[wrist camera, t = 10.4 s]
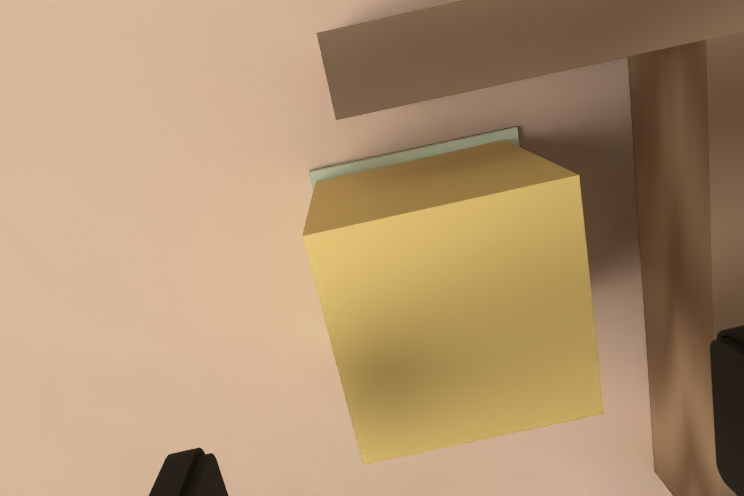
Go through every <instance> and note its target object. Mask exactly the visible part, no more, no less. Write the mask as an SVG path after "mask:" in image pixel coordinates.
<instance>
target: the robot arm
mask: <svg viewBox="0 0 744 496" xmlns="http://www.w3.org/2000/svg"><path fill="white" fill-rule="evenodd" d="M710 362H711V380H712V398H713V415H714V433H715V451H716V464H717V469H718V472H719V474H720V476H721V478H722V479H723V481H724V482H725V484H726V485H727V486H728V487H729V488H730V489H731V490H732V491H733V492H734V493H735V494H736V495H737V496H744V325H743V326H738V327H734V328H729V329H725V330H721V331H720V332H719V333H718V335H717V338H716V340H713V341H712V342H711V344H710ZM149 496H228V493H227V490H226V487H225V484H224V481H223V478H222V475H221V472H220V469H219V466H218V463H217V460H216V458H215V456H214V455H213V454H212V453H210V454H206V455H205V453H204V451H203V450H202V449H201V448H196V449H191V450H187V451H182V452H178V453H173V454H170V455H168V456H167V458H166V459H165V462H164V464H163V466H162V468H161V470H160V472H159V475H158V477H157V479H156V481H155V483H154V486H153V488H152V490H151V492H150V494H149Z"/></svg>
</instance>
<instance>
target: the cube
mask: <svg viewBox="0 0 744 496" xmlns="http://www.w3.org/2000/svg"><path fill="white" fill-rule="evenodd" d="M303 240H304V244H305V247H306V251H307V255H308V259H309V262H310V266H311V270H312V274H313V277H314V281H315V285H316V289H317V292H318V296H319V300H320V304H321V308H322V311H323V315H324V319H325V323H326V326H327V330H328V334H329V338H330V341H331V345H332V349H333V353H334V356H335V360H336V364H337V368H338V371H339V375H340V379H341V383H342V387H343V390H344V394H345V398H346V402H347V405H348V409H349V413H350V417H351V420H352V424H353V428H354V432H355V435H356V439H357V443H358V447H359V451H360V454H361V458H362V462H363V464H368V463H372V462H377V461H382V460H387V459H391V458H396V457H401V456H405V455H410V454H415V453H420V452H424V451H429V450H434V449H438V448H443V447H448V446H453V445H457V444H462V443H467V442H471V441H476V440H481V439H485V438H490V437H495V436H500V435H504V434H509V433H514V432H518V431H523V430H528V429H533V428H537V427H542V426H547V425H551V424H556V423H561V422H566V421H570V420H575V419H580V418H584V417H589V416H594V415H599V414H603V413H604V410H603V400H602V391H601V381H600V371H599V362H598V352H597V342H596V333H595V323H594V313H593V304H592V294H591V285H590V275H589V265H588V256H587V246H586V236H585V227H584V217H583V207H582V198H581V188H580V178H579V175H578V174H576V173H574V172H572V171H570V170H568V169H565V168H563V167H561V166H559V165H557V164H555V163H553V162H551V161H548V160H546V159H544V158H542V157H540V156H538V155H536V154H533V153H531V152H529V151H527V150H525V149H523V148H521V147H518V146H516V145H514V144H512V143H510V142H508V141H506V140H500V141H495V142H491V143H486V144H482V145H477V146H473V147H468V148H464V149H460V150H455V151H451V152H446V153H442V154H437V155H433V156H428V157H424V158H419V159H415V160H410V161H406V162H401V163H397V164H392V165H388V166H383V167H379V168H374V169H370V170H365V171H361V172H356V173H352V174H348V175H343V176H339V177H334V178H330V179H325V180H321V181H316V182H315V187H314V191H313V195H312V199H311V203H310V207H309V211H308V216H307V220H306V224H305V228H304V232H303Z"/></svg>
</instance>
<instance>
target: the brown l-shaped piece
mask: <svg viewBox="0 0 744 496" xmlns="http://www.w3.org/2000/svg"><path fill="white" fill-rule="evenodd" d="M317 37H318V41H319V46H320V50H321V55H322V59H323V64H324V68H325V72H326V77H327V81H328V86H329V90H330V95H331V99H332V104H333V108H334V113H335V117H336V120H338V119H343V118H348V117H352V116H357V115H361V114H366V113H371V112H375V111H380V110H384V109H389V108H394V107H398V106H403V105H407V104H412V103H417V102H421V101H426V100H430V99H435V98H440V97H444V96H449V95H453V94H458V93H463V92H467V91H472V90H476V89H481V88H486V87H490V86H495V85H499V84H504V83H509V82H513V81H518V80H522V79H527V78H532V77H536V76H541V75H545V74H550V73H555V72H559V71H564V70H568V69H573V68H578V67H582V66H587V65H591V64H596V63H601V62H605V61H610V60H614V59H619V58H624V57H628V66H629V81H630V97H631V112H632V128H633V143H634V159H635V174H636V190H637V205H638V221H639V236H640V252H641V267H642V283H643V298H644V314H645V329H646V345H647V360H648V376H649V391H650V407H651V422H652V438H653V453H654V469H655V473H656V474H657V475H658V476H659V478H660V479H661V480H662V482H663V483H664V484H665V486H666V487H667V488H668V490H669V491H670V492H671V494H672V495H673V496H737V495H736V494H735V493H734V492H733V491H732V490H731V489H730V488H729V487H728V486H727V485H726V484H725V482H724V481H723V479H722V478H721V476H720V474H719V472H718V469H717V464H716V451H715V433H714V415H713V398H712V380H711V362H710V344H711V342H712V341H713V340H716V338H717V335H718V333H719V332H720V331H721V330H725V329H729V328H734V327H738V326H743V325H744V0H464V1H460V2H455V3H451V4H446V5H442V6H437V7H433V8H428V9H424V10H419V11H415V12H410V13H405V14H401V15H396V16H392V17H387V18H383V19H378V20H374V21H369V22H365V23H360V24H356V25H351V26H346V27H342V28H337V29H333V30H328V31H324V32H319V33H317ZM500 140H506V141H508V142H510V143H512V144H514V145H516V146H518V147H520V144H519V136H518V129H517V127H510V128H505V129H501V130H496V131H491V132H487V133H482V134H478V135H473V136H468V137H464V138H459V139H454V140H450V141H445V142H441V143H436V144H431V145H427V146H422V147H417V148H413V149H408V150H403V151H399V152H394V153H390V154H385V155H380V156H376V157H371V158H366V159H362V160H357V161H353V162H348V163H343V164H339V165H334V166H329V167H325V168H320V169H315V170H311V171H309V174H310V178H311V183H312V187H313V191H314V187H315V182H316V181H321V180H325V179H330V178H334V177H339V176H343V175H348V174H352V173H356V172H361V171H365V170H370V169H374V168H379V167H383V166H388V165H392V164H397V163H401V162H406V161H410V160H415V159H419V158H424V157H428V156H433V155H437V154H442V153H446V152H451V151H455V150H460V149H464V148H468V147H473V146H477V145H482V144H486V143H491V142H495V141H500Z"/></svg>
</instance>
